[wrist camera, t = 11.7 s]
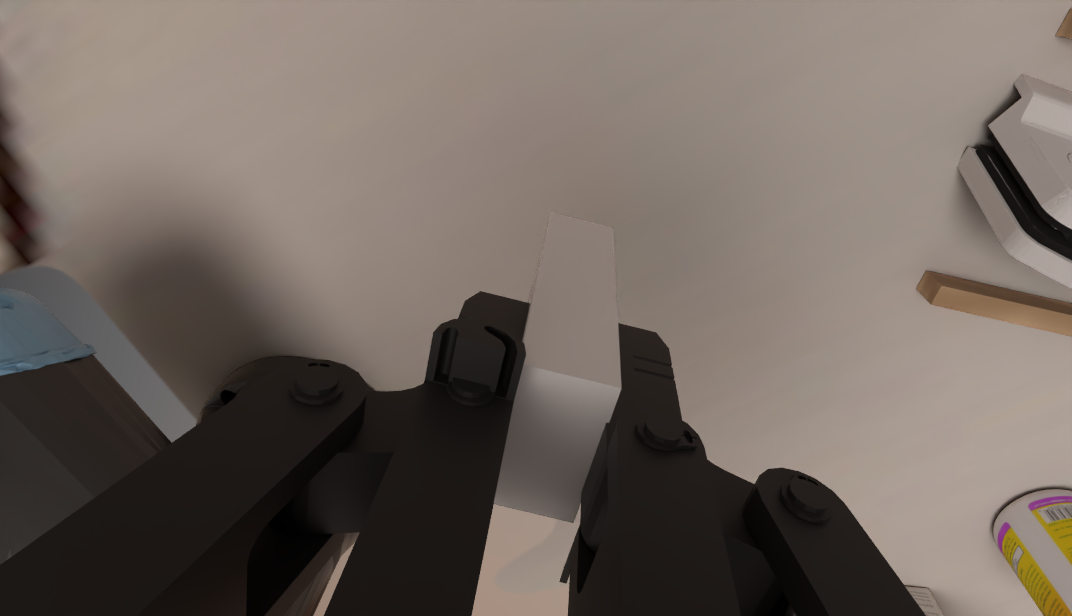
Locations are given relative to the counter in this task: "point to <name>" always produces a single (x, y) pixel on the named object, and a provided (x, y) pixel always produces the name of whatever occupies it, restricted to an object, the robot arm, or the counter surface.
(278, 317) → the counter surface
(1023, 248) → the grey piece
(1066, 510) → the supplement bottle
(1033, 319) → the frame
